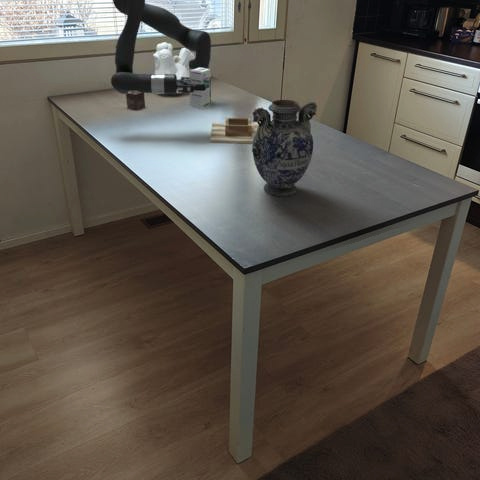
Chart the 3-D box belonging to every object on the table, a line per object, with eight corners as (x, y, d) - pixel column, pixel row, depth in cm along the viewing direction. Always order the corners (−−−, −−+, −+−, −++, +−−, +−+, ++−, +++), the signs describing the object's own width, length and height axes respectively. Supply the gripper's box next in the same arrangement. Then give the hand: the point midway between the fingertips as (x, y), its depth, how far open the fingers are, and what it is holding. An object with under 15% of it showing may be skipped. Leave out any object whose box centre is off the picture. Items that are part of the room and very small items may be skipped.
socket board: (212, 125, 225) (212, 113, 223) (263, 125, 226) (264, 114, 223) (210, 142, 206) (210, 130, 204) (266, 143, 207) (267, 131, 204)
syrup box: (202, 109, 207) (202, 71, 199) (190, 106, 210) (190, 69, 202) (211, 106, 211) (211, 69, 204) (199, 103, 214) (198, 66, 206)
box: (145, 107, 246) (144, 91, 243) (136, 110, 242) (135, 94, 238) (135, 105, 249) (134, 89, 245) (126, 108, 245) (125, 92, 241)
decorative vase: (262, 206, 158) (266, 114, 145) (238, 183, 173) (239, 98, 159) (324, 196, 166) (333, 107, 152) (295, 175, 181) (301, 92, 167)
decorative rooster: (159, 99, 259) (156, 46, 246) (149, 91, 271) (146, 40, 259) (206, 94, 269) (206, 42, 256) (194, 87, 281) (193, 37, 269)
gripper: (161, 78, 198) (205, 79, 198) (165, 69, 210) (206, 70, 210) (162, 98, 201) (205, 99, 202) (166, 88, 214) (207, 89, 214)
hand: (206, 85), depth 206 cm, fingers closed on syrup box, 7 cm apart
